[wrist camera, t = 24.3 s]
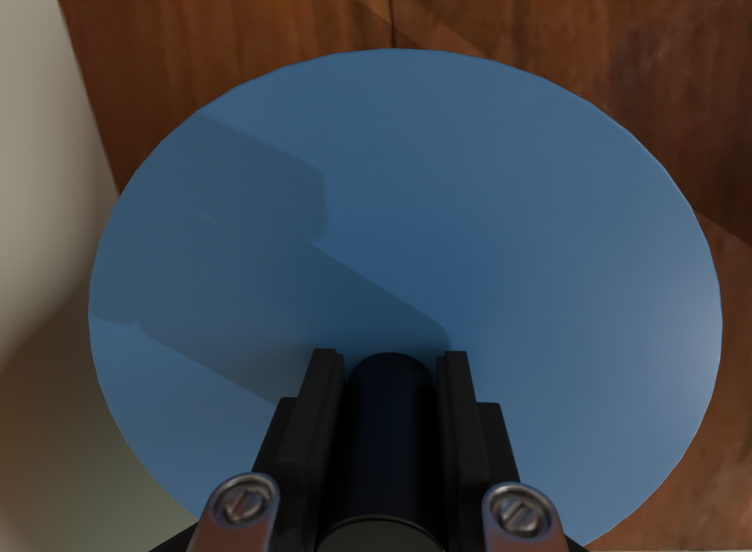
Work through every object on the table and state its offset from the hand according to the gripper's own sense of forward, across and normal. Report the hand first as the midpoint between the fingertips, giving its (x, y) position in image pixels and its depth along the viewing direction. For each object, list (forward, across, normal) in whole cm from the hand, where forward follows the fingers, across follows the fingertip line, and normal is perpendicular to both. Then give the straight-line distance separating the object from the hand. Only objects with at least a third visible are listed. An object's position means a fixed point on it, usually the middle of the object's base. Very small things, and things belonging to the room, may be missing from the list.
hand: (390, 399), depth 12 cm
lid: (+1, 0, 0) cm, 1 cm away
